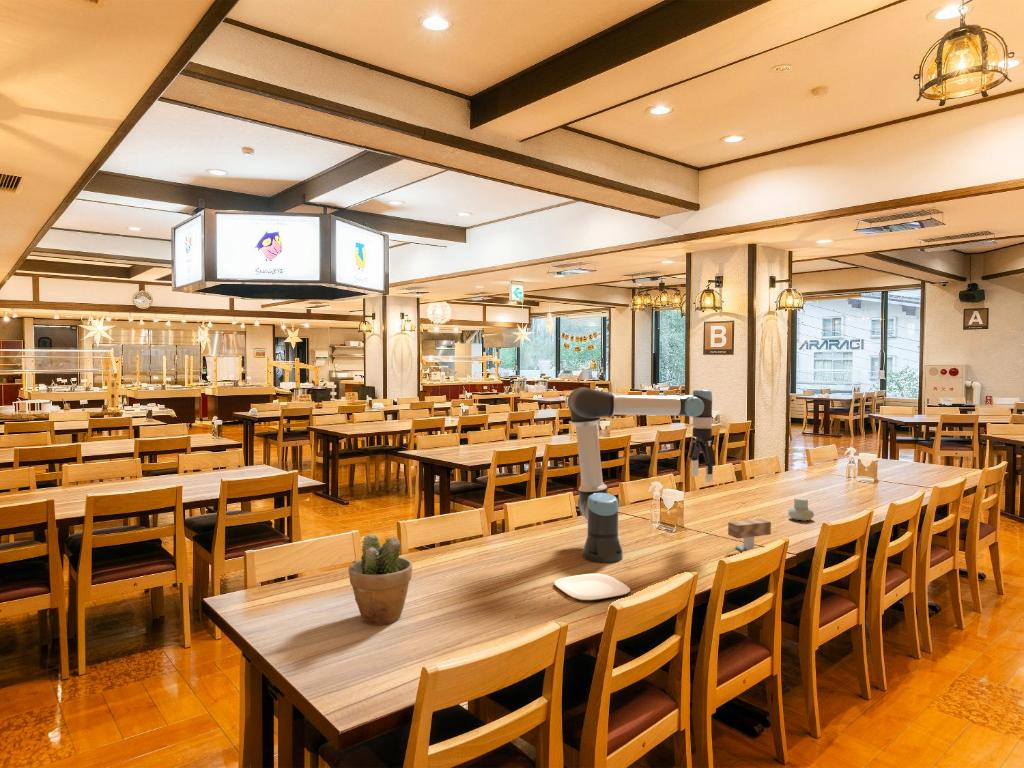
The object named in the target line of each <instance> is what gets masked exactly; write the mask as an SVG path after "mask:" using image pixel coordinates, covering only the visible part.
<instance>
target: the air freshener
mask: <svg viewBox="0 0 1024 768" xmlns="http://www.w3.org/2000/svg"><path fill="white" fill-rule="evenodd" d="M793 500H794V501H793V502H794V504H793V506H791V508H789V509H788V516H789V517H790V518H791V519H793V520H796V521H798V520H801V521H800V522H808V521H810V520H811V519H813V518H814V511H813V510H812V509H811V508H809V500H808V498H805V497H794V499H793ZM807 520H808V521H807Z"/></svg>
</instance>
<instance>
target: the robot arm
mask: <svg viewBox="0 0 1024 768" xmlns="http://www.w3.org/2000/svg"><path fill="white" fill-rule="evenodd" d="M567 407H568V409H569V412H570V419H571V420H570V422H571V423H572V424H573V425H574V427H575V431H576V440H577V441H576V442H577V450H578V460H579V461H578V462H579V471H580V479H581V480H580V481H581V485H580V486H579V487H578V500H577V507H578V510H579V512H580V513H581V514H582V517H584V518H585V519H586V520H587V537H586V541H585V543H584V546H583V549H582V557H583V558H584V559H586V560H588V561H591V562H595V563H615V562H619V561H621V560H622V559H623V557H624V556H623V555H624V554H623V553H624V552H623V549H622V545H621V542H620V539H619V501H618V498H617V497H616V496H615V495H613V494H610V493H608V491H609V490H608V485H607V484H606V483H604V481H603V479H604V478H603V471H602V470H603V469H602V462H601V461H602V460H601V459H602V458H601V450H600V442H599V432H598V423H599V422H600V420H601V418H612V417H614V415H620V416H621V415H623V416H626V415H627V416H628V415H629V416H631V415H633V416H683V417H684V416H685V417H692V427H693V428H692V441H691V447H690V449H689V450H690V451H689V454H688V458H689V459H690V460H691V473H690V474H691V477H699V460H700V459H699V456H700V454H701V452H702V455H703V457H704V462H705V465H704V467H705V468H704V469H705V473H704V474H705V477H704V480H705V483H713V481H714V480H713V477H714V476H713V475H714V472H713V471H714V468H713V467H714V466H716V465H717V462H716V458H715V453H714V447H713V441H712V440H709V438H712V436H713V435H712V434H713V429H712V426H713V425H712V423H713V418H712V417H713V393H712V391H711V390H710V389H694V390H692V394H667V395H642V394H641V395H640V394H639V395H637V394H635V395H634V394H633V395H632V394H615V393H614V392H612V391H601V390H597V389H593V388H589V387H587V386H586V387H585V386H584V387H582V386H581V387H578V388H575V389H573V390H572V391H571V392H570V394H569V395H568V397H567Z"/></svg>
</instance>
